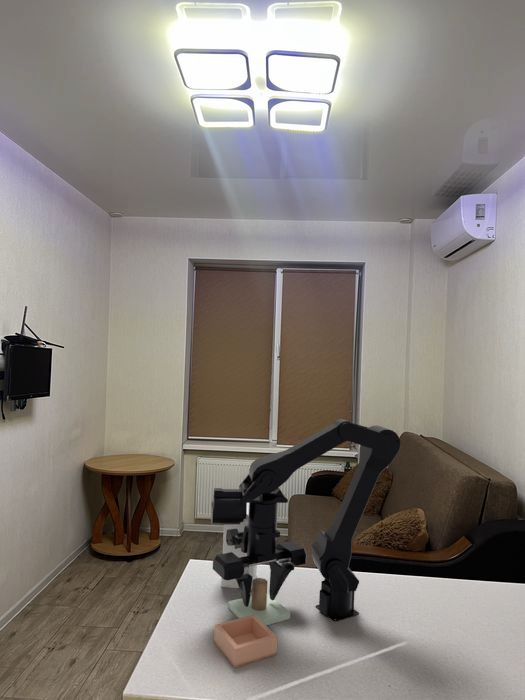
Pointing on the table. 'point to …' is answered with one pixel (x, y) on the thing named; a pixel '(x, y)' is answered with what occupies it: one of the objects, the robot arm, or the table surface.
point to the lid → (260, 605)
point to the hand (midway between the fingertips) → (259, 602)
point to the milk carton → (236, 552)
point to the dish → (245, 640)
